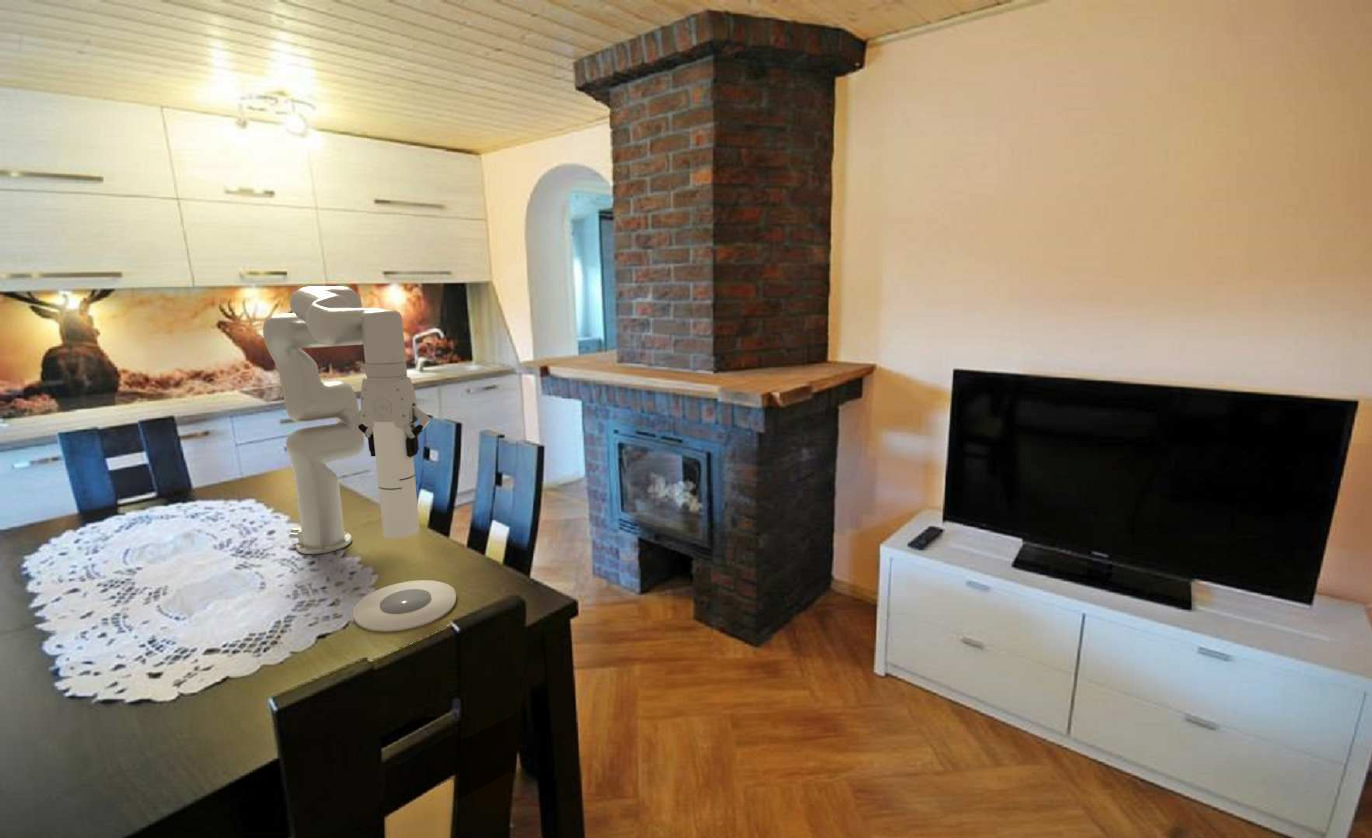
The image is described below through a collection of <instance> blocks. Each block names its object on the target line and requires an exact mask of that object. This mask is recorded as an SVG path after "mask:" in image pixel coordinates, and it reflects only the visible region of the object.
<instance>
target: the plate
mask: <svg viewBox="0 0 1372 838" xmlns="http://www.w3.org/2000/svg"><path fill="white" fill-rule="evenodd" d="M456 601H457V594H456V590H455V588H453V587H452V586H451V585H449V584H448V583H446V582H442V581H439V580H438V581H437V580H428V579H427V580H425V579H422V580H409V581H408V580H407V581H403V582H399V583H395V584H391V585H388V586H387V585H386V586H384V587H382V588H379V589H377V590H374V591H373V592H371V593H369V594H367V595H366V596H364V597H362V598H361V599H360V600H359V601H358V602H357V603H356V604H355V606H354V608H353V611H352V615H353V621H354V623H355V624H356V625H357V626H358V627H360V628H362V629H363V630H367V631H373V632H381V633H382V632H383V633H385V632H389V633H390V632H399V631H406V630H411V629H414V628H415V629H416V628H419V627H422V626H425V625H427V624H430V623H432V622H435V621H436V620H438V619H440V618H442V617H443V616H446V615H447V614H448V613H449V612H450V611H451V610H452V609H453V608H454V606H455V605H456Z"/></svg>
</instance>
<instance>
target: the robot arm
mask: <svg viewBox="0 0 1372 838" xmlns="http://www.w3.org/2000/svg"><path fill="white" fill-rule="evenodd" d="M289 306H290V310H291V311H292V312H291V313H288V312H287V313H280V314H275V315H271V316H270V317H268V318H266V320H265V321H264V323H263V326H262V334H263V335H262V336H263V340H264V344H265V347H266V349H267V351H268V353H269V355H270V356H271V358H272V360H273V362H274V363H275V366H276V368H277V371H278V375H279V381H280V385H281V386H280V387H281V392H282V395H283V401H284V406H285V409H286V413H287V414H288V418H290V420H291V421H292V422H295V423H309V422H317V421H324V420H331V419H335V420H336V423H330V424H323V425H314V426H310V427H302V428H300V429H297V430H294V431H293V432H291V433H290V434H289V435H288V436H287V438H286V440H285V441H286V442H285V447H286V451H287V454H288V458H289V460H290V465H291V468H292V472H293V477H294V483H295V490H296V497H297V498H296V499H297V506H298V515H299V523H300V527H292V528H291V529H290V532H289V534H288V537H289V538H290V539H297V540H298V542H297V543H296V545H295V547H296V551H297V552H298V553H300V554H305V555H319V554H326V553H327V554H328V553H331V552H334V551H338V550H340V549H342V548H345V547H347V546H348V545H349V544H351V543H352V541H353V539H352V534H350V533H349V532H347V531H345V528H344V527H345V526H344V519H343V518H344V517H343V509H342V508H343V507H342V499H341V492H340V491H341V489H340V482H339V477H338V475H337V474H336V473H335V471H333V470H332V469H331V468H329V467H328V466H327V463H331V462H336V461H340V460H344V459H345V460H346V459H349V458H353V457H358V456H359V455H361V454H362V453H363V452H364V449H365V438H367V442H368V444H367V445H368V451H369V452H370V457H376V456H375V446H374V436H373V427H374V421H382V422H394V424H395V426H396V427H404V430H405V432H406V433H407V435H408V438H407V439H406V445H407V456H408V457H413V458H414V456H416V455H417V454H418V452H419V449H420V446H419V436H420V435H421V433H422V432H423V431H425V429H426V427H427V426H428V424H429V423H430V422H431V417H430V416H428V414H426V413H425V412H424V411H422V410H421V409H420V408H418V403H417V397H416V396H417V395H416V392H415V389H414V384H413V382H412V379H411V376H408V371H407V357H406V346H405V335H404V334H405V333H404V323H403V317H402V314H401V313H400V312H399V311H397V310H395V309H384V308H379V307H363V305H362V300H361V298H360V295H359V294H358V293H357V292H356V291H355V290H354V289H353V288H350V287H348V286H322V285H321V286H319V285H318V286H305V287H301V288H298V289H297V290H296V291H294V292H293V293H292V294H291V296H290V298H289ZM356 345H357V346H358V345H359V346H361V345H363V353H364V354H363V355H364V362H365V363H364V364H363V365H360V366H359V370H360V372H361V373H365V376H366V377H365V378H362V381H361V389H360V407H359V402H358V400H357V395H356V393H355V389H354V388H353V387H352V386H351V385H350V384H349V383H348V382H346V381H343V380H342V381H341V380H340V381H339V380H337V381H336V380H334V381H327V382H326V381H325V382H323V381H322V379H321V377H320V372H319V367H318V364H317V362H316V361H315V360H314V358H312V357H311V356H310V355H309V354H308V353H307V352H306V351H305V350H303V349H307V348H309V349H311V348H313V349H314V348H326V347H328V348H329V347H344V346H356ZM418 420H419V423H418V424H417V425H416V422H417V421H418Z"/></svg>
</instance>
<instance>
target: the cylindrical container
mask: <svg viewBox="0 0 1372 838" xmlns="http://www.w3.org/2000/svg"><path fill="white" fill-rule="evenodd" d="M373 436H374V446H375V456H374V457H375V464H376V465H375V466H376V475H377V483H378V486H377V487H378V495H379V504H380V506H379V507H380V515H381V525H382V535H383V537H384V538H385V539H393V540H394V539H397V540H398V539H404V538H410V537H412V536H415V535H416V534H418V533H420V528H421V527H420V518H419V507H418V497H417V496H418V494H417V484H416V483H417V482H416V474H415V473H416V471H415V461H414V456H413V457H408V456H407V445H406V439H407V438H408V435H407V433H406V432H405V430H404V427H396V426H395V424H394V422H382V421H374V427H373Z"/></svg>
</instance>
